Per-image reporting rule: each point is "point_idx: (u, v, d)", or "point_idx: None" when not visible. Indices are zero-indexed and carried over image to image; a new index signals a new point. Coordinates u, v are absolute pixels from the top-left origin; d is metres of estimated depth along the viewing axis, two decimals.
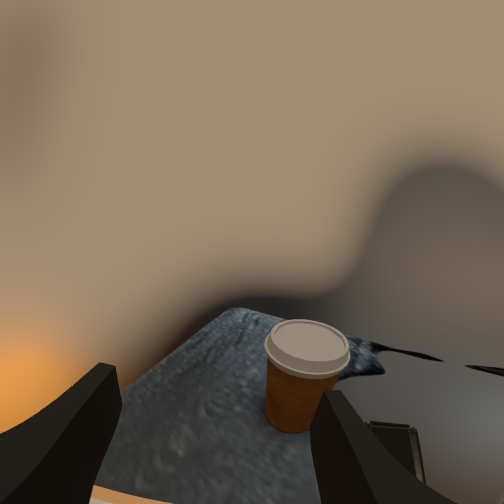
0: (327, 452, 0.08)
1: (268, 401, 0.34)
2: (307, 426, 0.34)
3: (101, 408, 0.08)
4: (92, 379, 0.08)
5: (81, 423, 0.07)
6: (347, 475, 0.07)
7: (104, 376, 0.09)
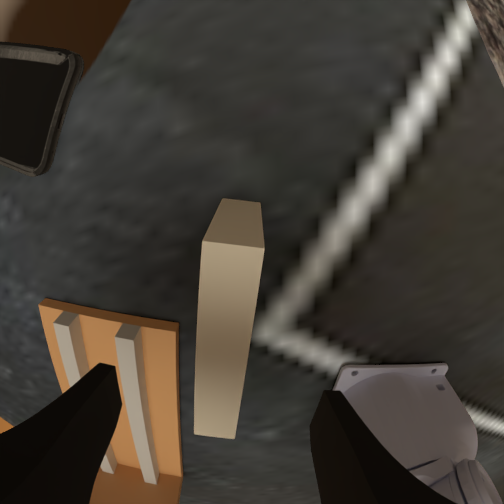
0: (327, 452, 0.08)
1: None
2: None
3: (101, 408, 0.08)
4: (92, 379, 0.08)
5: (81, 423, 0.07)
6: (347, 475, 0.07)
7: (104, 376, 0.09)
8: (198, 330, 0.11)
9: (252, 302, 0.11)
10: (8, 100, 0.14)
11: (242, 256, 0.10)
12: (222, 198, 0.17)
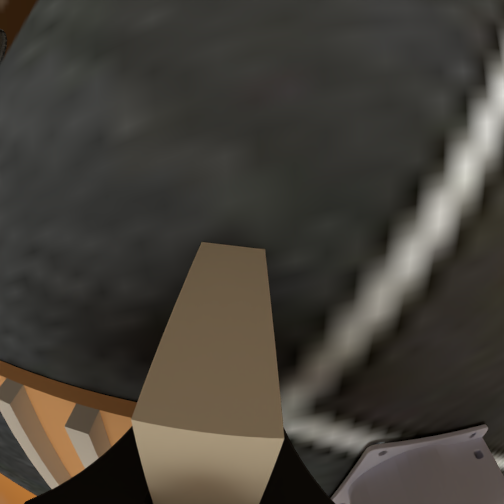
0: None
1: None
2: None
3: None
4: None
5: None
6: None
7: None
8: None
9: (253, 497, 0.04)
10: None
11: (228, 449, 0.04)
12: (201, 243, 0.10)
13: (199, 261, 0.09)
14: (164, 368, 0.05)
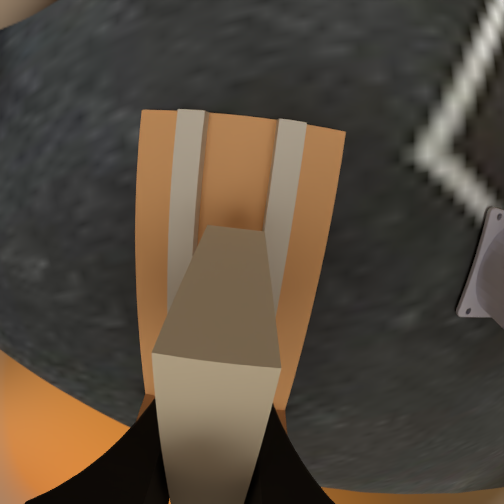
0: None
1: None
2: None
3: None
4: None
5: None
6: (254, 477, 0.07)
7: None
8: (166, 464, 0.06)
9: (255, 440, 0.05)
10: None
11: (234, 381, 0.05)
12: (207, 226, 0.11)
13: (206, 239, 0.10)
14: (179, 316, 0.06)
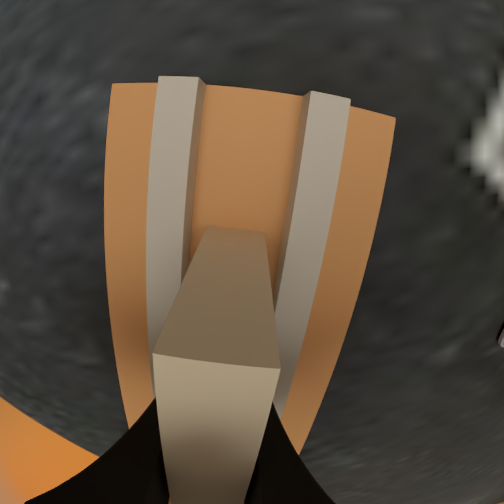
0: None
1: None
2: None
3: None
4: None
5: None
6: (254, 477, 0.07)
7: None
8: (167, 464, 0.06)
9: (254, 440, 0.05)
10: None
11: (234, 381, 0.05)
12: (207, 226, 0.11)
13: (206, 240, 0.10)
14: (179, 317, 0.06)
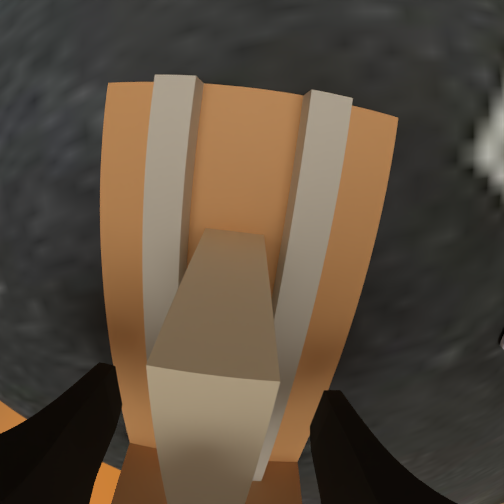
0: (327, 452, 0.08)
1: None
2: None
3: (101, 408, 0.08)
4: (92, 379, 0.08)
5: (81, 423, 0.07)
6: (347, 475, 0.07)
7: (104, 376, 0.09)
8: (164, 473, 0.06)
9: (253, 452, 0.05)
10: None
11: (231, 393, 0.05)
12: (205, 229, 0.11)
13: (204, 243, 0.09)
14: (175, 325, 0.05)
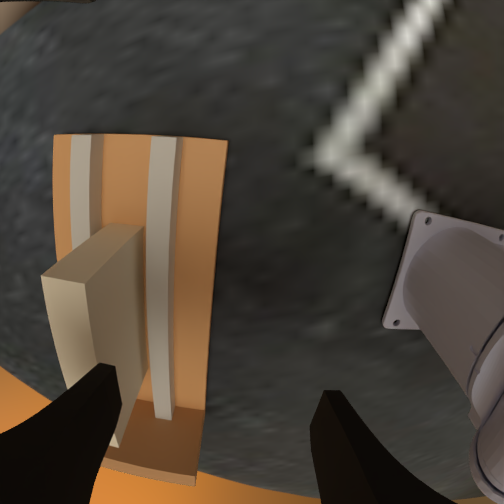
0: (327, 452, 0.08)
1: None
2: None
3: (101, 408, 0.08)
4: (92, 379, 0.08)
5: (81, 423, 0.07)
6: (347, 475, 0.07)
7: (104, 376, 0.09)
8: (57, 349, 0.11)
9: (87, 330, 0.11)
10: None
11: (69, 290, 0.10)
12: (109, 223, 0.16)
13: (101, 231, 0.15)
14: (59, 264, 0.11)
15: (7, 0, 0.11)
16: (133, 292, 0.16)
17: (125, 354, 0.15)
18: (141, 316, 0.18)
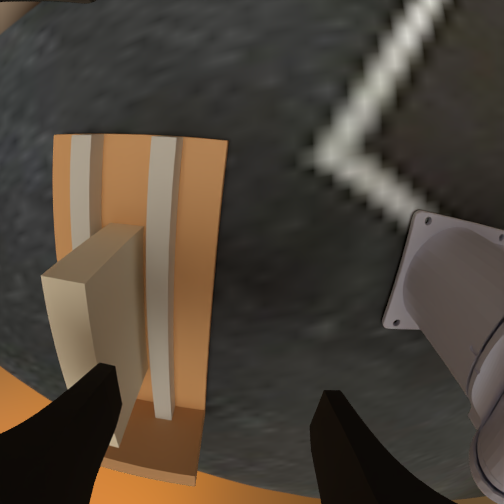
0: (327, 452, 0.08)
1: None
2: None
3: (101, 408, 0.08)
4: (92, 379, 0.08)
5: (81, 423, 0.07)
6: (347, 475, 0.07)
7: (104, 376, 0.09)
8: (57, 349, 0.11)
9: (87, 330, 0.11)
10: None
11: (69, 290, 0.10)
12: (109, 223, 0.16)
13: (101, 231, 0.15)
14: (59, 264, 0.11)
15: (7, 0, 0.11)
16: (133, 292, 0.16)
17: (125, 354, 0.15)
18: (141, 316, 0.18)
